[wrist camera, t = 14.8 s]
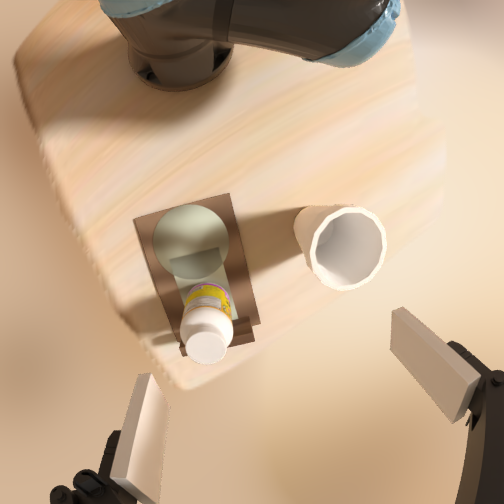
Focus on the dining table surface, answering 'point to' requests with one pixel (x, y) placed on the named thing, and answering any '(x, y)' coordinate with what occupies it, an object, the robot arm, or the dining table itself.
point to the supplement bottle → (207, 323)
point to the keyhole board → (199, 260)
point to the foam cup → (341, 244)
